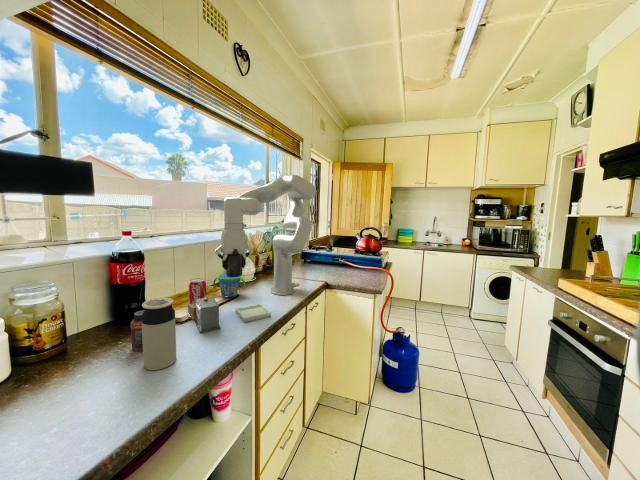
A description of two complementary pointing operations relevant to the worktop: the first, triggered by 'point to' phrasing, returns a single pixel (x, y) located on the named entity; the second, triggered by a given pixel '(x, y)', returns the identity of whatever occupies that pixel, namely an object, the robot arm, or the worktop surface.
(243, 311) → the tray
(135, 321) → the supplement bottle
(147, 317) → the travel mug
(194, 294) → the soda can
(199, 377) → the worktop surface
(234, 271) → the supplement bottle
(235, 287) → the snack cup
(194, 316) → the walnut block
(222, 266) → the robot arm
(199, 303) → the control box
